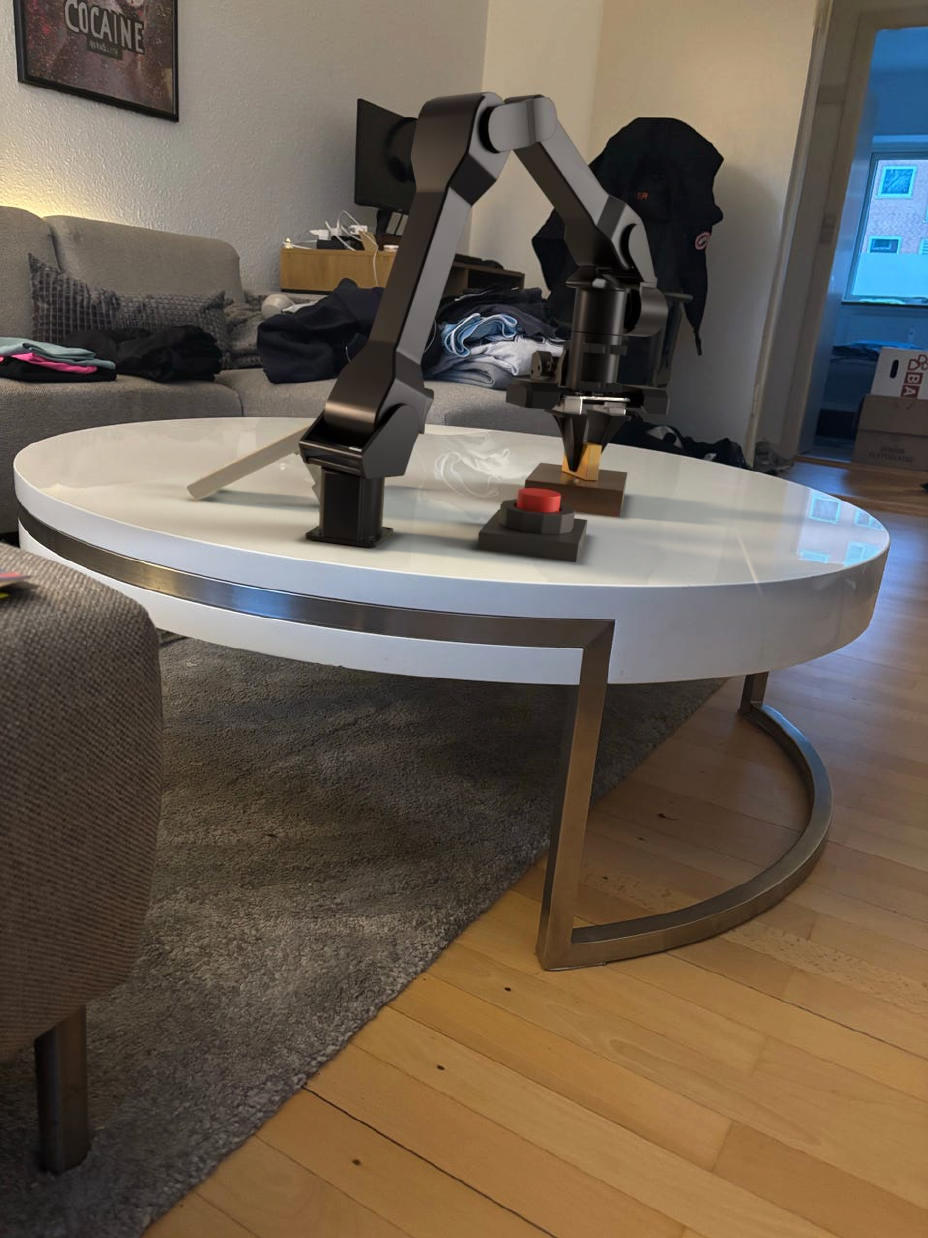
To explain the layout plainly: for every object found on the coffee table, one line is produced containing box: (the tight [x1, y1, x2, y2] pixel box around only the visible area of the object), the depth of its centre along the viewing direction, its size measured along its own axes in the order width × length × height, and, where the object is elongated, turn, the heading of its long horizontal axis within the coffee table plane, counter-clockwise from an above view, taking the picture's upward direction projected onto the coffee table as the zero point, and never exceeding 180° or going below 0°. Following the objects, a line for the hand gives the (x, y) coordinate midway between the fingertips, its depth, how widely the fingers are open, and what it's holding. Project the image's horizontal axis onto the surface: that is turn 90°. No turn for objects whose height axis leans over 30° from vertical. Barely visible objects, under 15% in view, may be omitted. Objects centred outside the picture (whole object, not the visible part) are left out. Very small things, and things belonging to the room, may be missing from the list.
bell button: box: [516, 488, 561, 512], centre depth 86 cm, size 4×4×2 cm
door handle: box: [186, 420, 322, 503], centre depth 99 cm, size 18×8×20 cm
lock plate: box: [523, 462, 628, 518], centre depth 109 cm, size 14×11×3 cm
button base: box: [476, 498, 588, 563], centre depth 87 cm, size 11×9×4 cm
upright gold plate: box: [561, 439, 602, 480], centre depth 108 cm, size 6×2×4 cm, turn 22°
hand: (579, 471), depth 108 cm, fingers closed on upright gold plate, 2 cm apart
